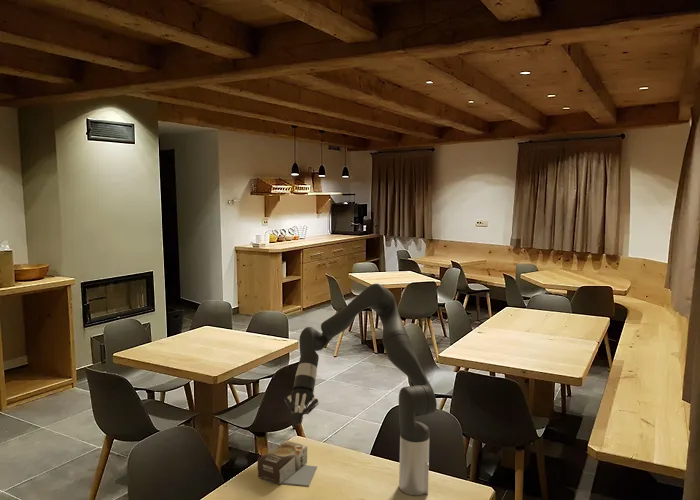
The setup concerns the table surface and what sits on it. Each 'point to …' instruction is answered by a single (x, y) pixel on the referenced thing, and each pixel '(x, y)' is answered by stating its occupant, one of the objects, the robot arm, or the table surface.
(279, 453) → the coffee box
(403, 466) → the robot arm
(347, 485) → the table surface
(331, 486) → the table surface
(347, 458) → the table surface
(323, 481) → the table surface
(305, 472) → the rubber mat
